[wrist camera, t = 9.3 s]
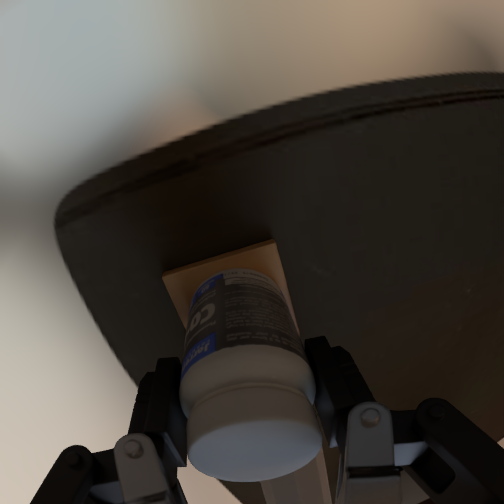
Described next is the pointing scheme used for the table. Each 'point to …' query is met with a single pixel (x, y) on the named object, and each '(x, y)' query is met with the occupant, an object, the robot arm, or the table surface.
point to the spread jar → (412, 490)
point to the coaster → (251, 257)
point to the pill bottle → (246, 381)
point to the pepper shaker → (300, 485)
